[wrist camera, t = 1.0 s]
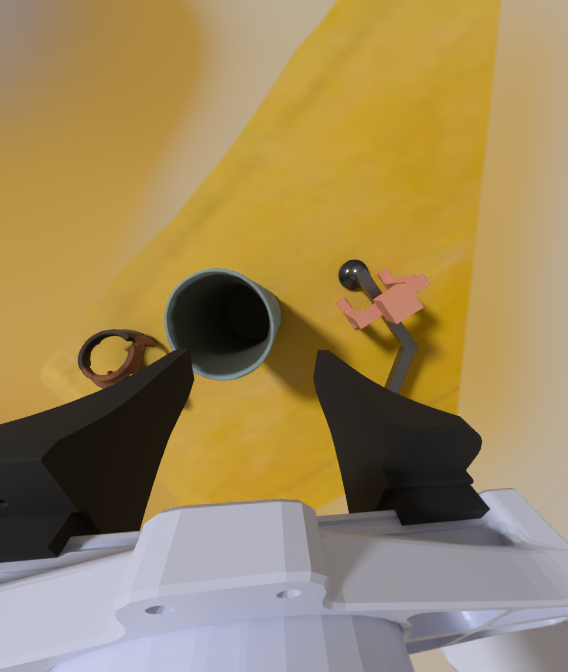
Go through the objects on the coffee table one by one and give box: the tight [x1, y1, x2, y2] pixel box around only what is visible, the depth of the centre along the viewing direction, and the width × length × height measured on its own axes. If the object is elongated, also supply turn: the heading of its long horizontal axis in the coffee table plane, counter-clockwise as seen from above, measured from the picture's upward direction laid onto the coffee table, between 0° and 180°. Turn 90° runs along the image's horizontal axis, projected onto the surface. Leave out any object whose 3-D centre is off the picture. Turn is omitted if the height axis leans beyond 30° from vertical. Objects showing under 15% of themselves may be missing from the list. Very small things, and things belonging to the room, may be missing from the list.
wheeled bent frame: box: [339, 260, 418, 394], centre depth 27 cm, size 12×22×4 cm, turn 167°
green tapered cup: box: [164, 268, 281, 380], centre depth 24 cm, size 10×10×12 cm
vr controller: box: [78, 329, 156, 389], centre depth 31 cm, size 12×10×8 cm
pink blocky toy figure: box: [337, 268, 430, 329], centre depth 22 cm, size 4×7×10 cm, turn 127°
